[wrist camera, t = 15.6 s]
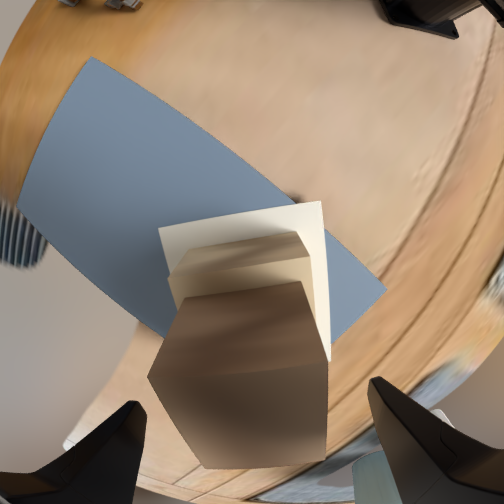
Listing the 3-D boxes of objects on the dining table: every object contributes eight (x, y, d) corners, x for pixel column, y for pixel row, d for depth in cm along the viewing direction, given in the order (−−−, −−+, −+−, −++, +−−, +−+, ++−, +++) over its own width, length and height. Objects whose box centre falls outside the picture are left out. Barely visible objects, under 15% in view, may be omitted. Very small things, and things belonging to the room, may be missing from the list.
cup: (334, 475, 26) (345, 535, 16) (358, 449, 24) (377, 519, 14) (380, 468, 26) (396, 522, 16) (407, 441, 24) (431, 501, 14)
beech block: (296, 231, 15) (310, 256, 11) (308, 348, 17) (319, 391, 13) (188, 249, 15) (167, 278, 11) (220, 360, 18) (213, 403, 14)
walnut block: (301, 281, 11) (328, 360, 6) (309, 381, 13) (325, 460, 8) (184, 297, 12) (147, 376, 7) (217, 392, 13) (205, 468, 9)
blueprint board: (21, 214, 15) (12, 217, 14) (107, 48, 12) (100, 43, 11) (266, 400, 20) (266, 409, 19) (400, 280, 17) (406, 287, 16)
